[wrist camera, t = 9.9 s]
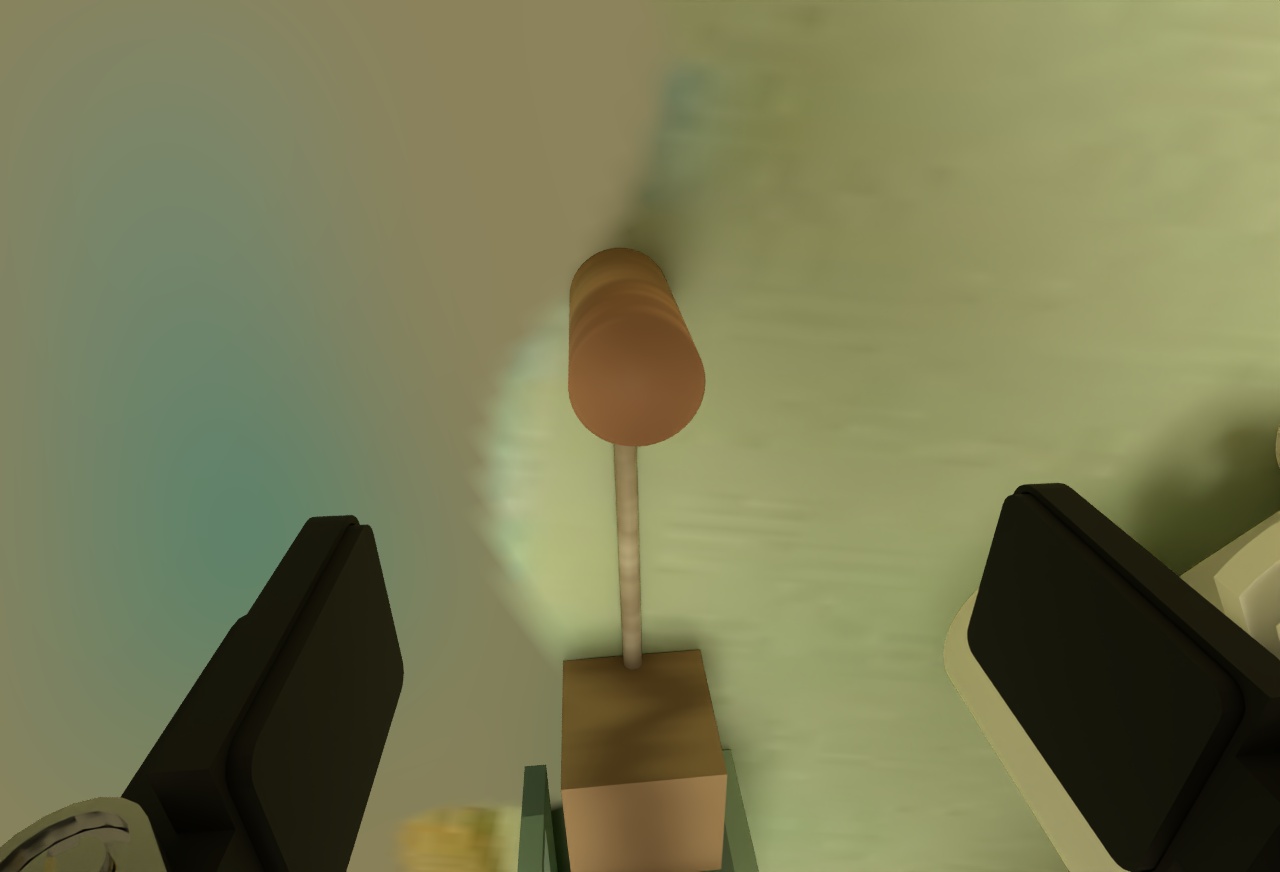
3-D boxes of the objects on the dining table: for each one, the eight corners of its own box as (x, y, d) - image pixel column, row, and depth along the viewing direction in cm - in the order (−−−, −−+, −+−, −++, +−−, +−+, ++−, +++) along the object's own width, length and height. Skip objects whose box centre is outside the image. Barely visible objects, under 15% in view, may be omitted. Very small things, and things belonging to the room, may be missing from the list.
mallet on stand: (712, 244, 21) (768, 314, 15) (697, 740, 33) (726, 895, 26) (520, 252, 21) (499, 326, 15) (572, 751, 32) (572, 911, 26)
